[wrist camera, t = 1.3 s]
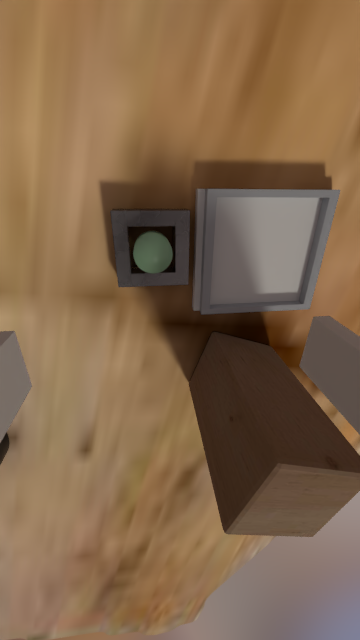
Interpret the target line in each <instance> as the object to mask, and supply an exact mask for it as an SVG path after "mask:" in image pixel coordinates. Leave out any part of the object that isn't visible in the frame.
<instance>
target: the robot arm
mask: <svg viewBox="0 0 360 640" xmlns="http://www.w3.org/2000/svg"><path fill="white" fill-rule="evenodd" d="M300 368H301V369H302V370H303V371H304V372H305V373H306V374H307V376H308V377H309V378H310V379H311V380H312V381H313V382H314V384H315V385H316V386H317V387H318V388H319V389H320V390H321V391H322V393H323V394H324V395H325V396H326V397H327V398H328V399H329V400H330V402H331V403H332V404H333V405H334V406H335V407H336V408H337V410H338V411H339V412H340V413H341V414H342V415H343V416H344V417H345V419H346V420H347V421H348V422H349V423H350V424H351V425H352V426H353V428H354V429H355V430H356V431H357V432H358V433H359V434H360V337H359V336H358V335H356V334H355V333H354V332H352V331H351V330H349V329H348V328H346V327H345V326H343V325H342V324H340V323H339V322H337V321H336V320H334V319H333V318H331V317H330V316H318V317H313V320H312V324H311V327H310V331H309V334H308V338H307V342H306V345H305V349H304V352H303V356H302V359H301V363H300ZM31 387H32V384H31V381H30V378H29V375H28V372H27V368H26V365H25V362H24V359H23V356H22V353H21V350H20V346H19V343H18V340H17V337H16V334H15V331H4V332H0V464H1V463H2V461H3V459H4V457H5V455H6V453H7V451H8V448H9V438H8V435H7V433H6V432H7V430H8V428H9V427H10V425H11V423H12V421H13V419H14V418H15V416H16V414H17V412H18V410H19V409H20V407H21V405H22V403H23V402H24V400H25V398H26V396H27V394H28V393H29V391H30V389H31Z"/></svg>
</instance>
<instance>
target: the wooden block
mask: <svg viewBox="0 0 360 640" xmlns="http://www.w3.org/2000/svg"><path fill="white" fill-rule="evenodd" d="M189 387H190V391H191V395H192V400H193V404H194V408H195V412H196V417H197V421H198V425H199V429H200V433H201V438H202V442H203V446H204V450H205V455H206V459H207V463H208V467H209V472H210V476H211V480H212V484H213V488H214V493H215V497H216V501H217V505H218V510H219V514H220V518H221V522H222V527H223V530H224V532H225V533H226V534H237V535H269V536H300V537H312V536H314V535H315V534H316V533H317V532H318V531H319V530H320V529H321V528H322V527H323V526H324V525H325V524H326V523H327V522H328V521H329V520H330V519H331V518H332V517H333V516H334V515H335V514H336V513H337V512H338V511H339V510H340V509H341V508H342V507H343V506H345V504H347V503H348V502H349V501H350V500H351V499H352V498H353V497H354V496H355V495H356V494H357V493H358V492H359V491H360V455H359V454H358V453H357V452H356V451H355V449H354V448H353V447H352V446H351V444H350V443H349V442H348V441H347V439H346V438H345V437H344V436H343V435H342V433H341V432H340V431H339V430H338V428H337V427H336V426H335V425H334V423H333V422H332V421H331V420H330V419H329V417H328V416H327V415H326V414H325V412H324V411H323V410H322V409H321V407H320V406H319V405H318V404H317V403H316V401H315V400H314V399H313V398H312V396H311V395H310V394H309V393H308V391H307V390H306V389H305V388H304V387H303V385H302V384H301V383H300V382H299V380H298V379H297V378H296V377H295V375H294V374H293V373H292V372H291V371H290V369H289V368H288V367H287V366H286V364H285V363H284V362H283V361H282V359H281V358H280V357H279V356H278V355H277V353H276V352H275V351H274V350H273V348H272V347H271V346H268V345H264V344H260V343H257V342H253V341H249V340H245V339H241V338H237V337H234V336H230V335H226V334H222V333H218V332H212V334H211V336H210V338H209V340H208V343H207V345H206V347H205V349H204V351H203V353H202V356H201V358H200V360H199V362H198V364H197V367H196V369H195V371H194V373H193V375H192V377H191V380H190V382H189Z"/></svg>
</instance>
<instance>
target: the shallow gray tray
mask: <svg viewBox="0 0 360 640" xmlns="http://www.w3.org/2000/svg"><path fill="white" fill-rule="evenodd" d="M339 194H340V190H289V189H196V202H195V234H194V266H193V297H192V308H193V310H194V311H200V313H201V315H202V314H222V313H242V312H261V311H281V310H301V309H310V305H311V301H312V297H313V294H314V290H315V286H316V282H317V278H318V274H319V270H320V267H321V263H322V259H323V255H324V251H325V247H326V244H327V240H328V236H329V232H330V228H331V224H332V220H333V217H334V213H335V209H336V205H337V201H338V197H339Z"/></svg>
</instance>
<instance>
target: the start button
mask: <svg viewBox="0 0 360 640" xmlns="http://www.w3.org/2000/svg"><path fill="white" fill-rule="evenodd" d="M133 256H134V260H135V263H136V264H137V266H138V267H139V268H140V269H141V270H143V271H145V272H147V273H153V274H154V273H160V272H162V271H164V270H165V269H166V268H167V267H168V266H169V265H170V263H171V261H172V257H173V251H172V247H171V245H170V243H169V241H168V239H167V238H166V237H165V236H164V235H163V234H162V233H160V232H158V231H152V230H151V231H146V232H144V233H142V234H141V235H139V236H138V238H137V239H136V241H135V244H134V251H133Z"/></svg>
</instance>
